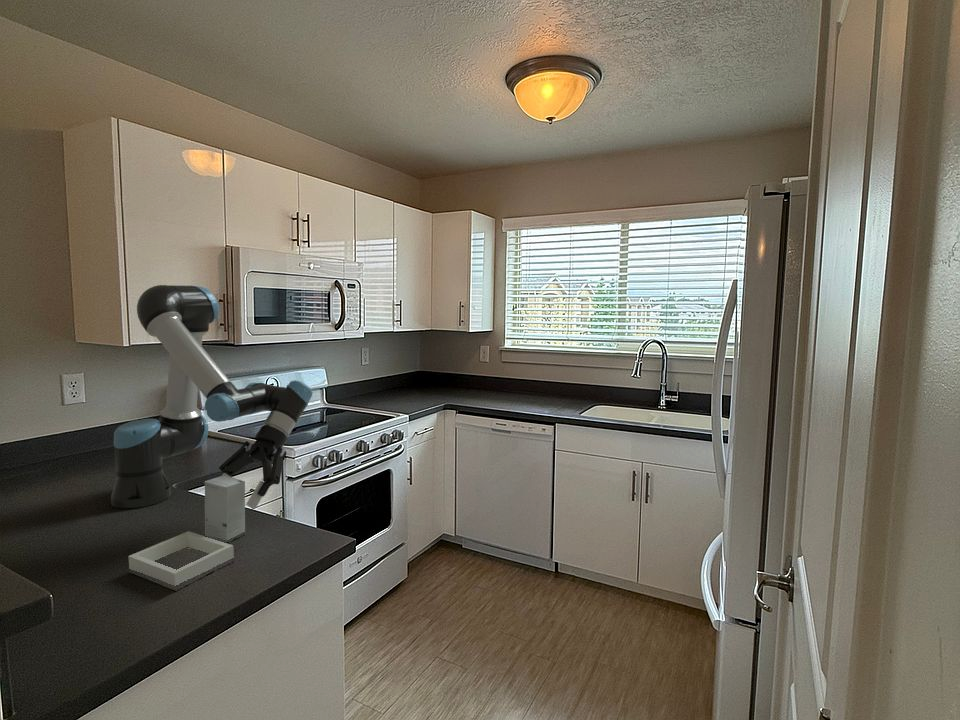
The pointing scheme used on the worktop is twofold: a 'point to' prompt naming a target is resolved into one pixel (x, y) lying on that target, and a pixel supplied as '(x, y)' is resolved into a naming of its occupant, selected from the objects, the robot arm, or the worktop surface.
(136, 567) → the tray
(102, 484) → the worktop surface
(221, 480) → the skincare box
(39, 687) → the worktop surface
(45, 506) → the worktop surface
